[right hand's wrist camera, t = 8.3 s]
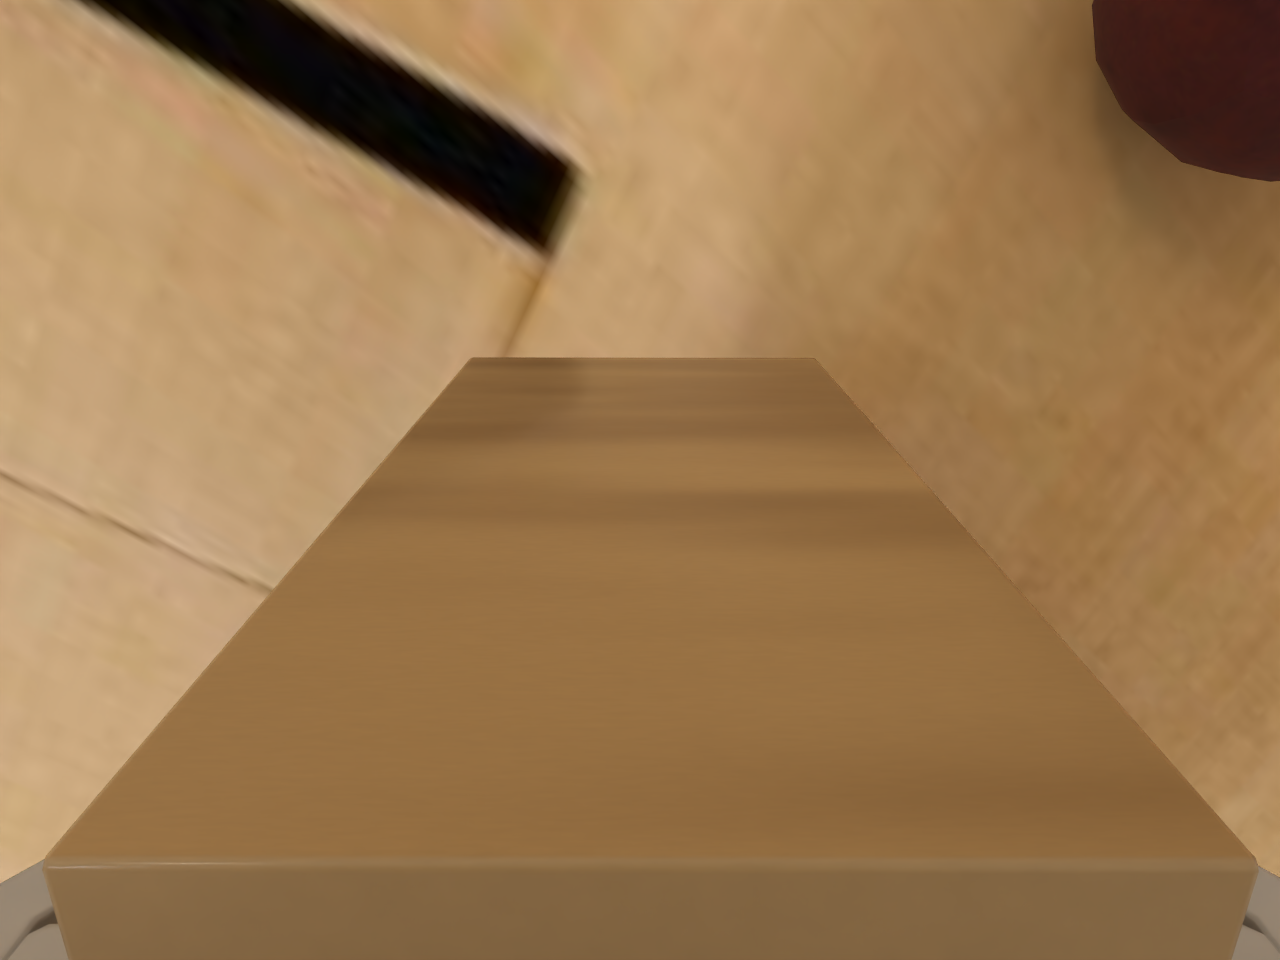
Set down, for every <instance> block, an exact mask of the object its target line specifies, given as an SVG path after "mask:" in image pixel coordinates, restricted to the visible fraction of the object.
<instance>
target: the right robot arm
mask: <svg viewBox="0 0 1280 960" xmlns="http://www.w3.org/2000/svg"><path fill="white" fill-rule="evenodd" d="M44 860H45V859H44ZM44 860H42V861H40V862H38V863H37V864H35V865H33V866H31V867H29V868H28V869H26V870H24V871H22V872H20V873H19V874H17V875H15V876H13V877H11V878H9V879H8V880H6V881H4V882H2V883H0V960H69V959H68V956H67V952H66V949H65V946H64V942H63V939H62V935H61V932H60V929H59V925H58V922H57V919H56V915H55V912H54V908H53V905H52V902H51V898H50V895H49V891H48V888H47V885H46V881H45V878H44V874H43V871H42V868H43V862H44ZM1258 870H1259V873H1258V876H1257V879H1256V882H1255V886H1254V889H1253V892H1252V895H1251V898H1250V902H1249V905H1248V908H1247V911H1246V915H1245V918H1244V921H1243V924H1242V927H1241V931H1240V934H1239V937H1238V940H1237V944H1236V947H1235V950H1234V953H1233V956H1232V960H1280V878H1279V877H1278V876H1276V875H1274V874H1272V873H1270V872H1269V871H1267V870H1265V869H1263V868H1261V867H1259V866H1258Z"/></svg>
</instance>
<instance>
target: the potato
mask: <svg viewBox="0 0 1280 960" xmlns="http://www.w3.org/2000/svg"><path fill="white" fill-rule="evenodd" d="M1092 11H1093V25H1094V38H1095V52H1096V61H1097V63H1098V65H1099V67H1100V68H1101V70H1102V72H1103V74H1104V76H1105V78H1106V80H1107V82H1108V84H1109V86H1110V88H1111V89H1112V91H1113V93H1114V95H1115V97H1116V99H1117V101H1118V103H1119V105H1120V107H1121V108H1122V110H1123V111H1124V112H1125V113H1126V114H1127V115H1128V116H1129V117H1130V118H1131V119H1132V120H1133V121H1134V122H1136V123H1137V124H1138V125H1139V126H1140V127H1141V128H1143V129H1144V130H1145V131H1146V132H1147V133H1148V134H1150V135H1151V136H1152V137H1153V138H1154V139H1155V140H1157V141H1158V142H1159V143H1160V144H1161V145H1162V146H1164V147H1165V148H1166V149H1167V150H1168V151H1169V152H1171V153H1172V154H1173V155H1174V156H1175V157H1177V158H1178V159H1179V160H1180V161H1181V162H1184V163H1187V164H1191V165H1195V166H1198V167H1202V168H1206V169H1209V170H1213V171H1217V172H1221V173H1226V174H1231V175H1235V176H1239V177H1244V178H1251V179H1257V180H1264V181H1280V0H1094V1H1093V4H1092Z"/></svg>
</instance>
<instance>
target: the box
mask: <svg viewBox="0 0 1280 960" xmlns="http://www.w3.org/2000/svg"><path fill="white" fill-rule="evenodd" d="M42 871H43V874H44V878H45V881H46V885H47V888H48V891H49V895H50V898H51V902H52V905H53V908H54V912H55V915H56V919H57V922H58V925H59V929H60V932H61V935H62V939H63V942H64V946H65V949H66V952H67V956H68V959H69V960H1232V956H1233V953H1234V950H1235V947H1236V944H1237V940H1238V937H1239V934H1240V931H1241V927H1242V924H1243V921H1244V918H1245V915H1246V911H1247V908H1248V905H1249V902H1250V898H1251V895H1252V892H1253V889H1254V886H1255V882H1256V879H1257V876H1258V873H1259V870H1258V864H1257V861H1256V859H1255V857H1254V856H1253V855H1252V854H1251V853H1250V851H1249V850H1248V849H1247V848H1246V847H1245V846H1244V845H1243V844H1242V842H1241V841H1240V840H1239V839H1238V838H1237V837H1236V836H1235V834H1234V833H1233V832H1232V831H1231V830H1230V829H1229V828H1228V827H1227V825H1226V824H1225V823H1224V822H1223V821H1222V820H1221V819H1220V817H1219V816H1218V815H1217V814H1216V813H1215V812H1214V811H1213V810H1212V808H1211V807H1210V806H1209V805H1208V804H1207V803H1206V802H1205V800H1204V799H1203V798H1202V797H1201V796H1200V795H1199V794H1198V793H1197V791H1196V790H1195V789H1194V788H1193V787H1192V786H1191V785H1190V783H1189V782H1188V781H1187V780H1186V779H1185V778H1184V777H1183V776H1182V774H1181V773H1180V772H1179V771H1178V770H1177V769H1176V768H1175V766H1174V765H1173V764H1172V763H1171V762H1170V761H1169V760H1168V758H1167V757H1166V756H1165V755H1164V754H1163V753H1162V752H1161V751H1160V749H1159V748H1158V747H1157V746H1156V745H1155V744H1154V743H1153V741H1152V740H1151V739H1150V738H1149V737H1148V736H1147V735H1146V734H1145V732H1144V731H1143V730H1142V729H1141V728H1140V727H1139V726H1138V724H1137V723H1136V722H1135V721H1134V720H1133V719H1132V718H1131V717H1130V715H1129V714H1128V713H1127V712H1126V711H1125V710H1124V709H1123V707H1122V706H1121V705H1120V704H1119V703H1118V702H1117V701H1116V700H1115V698H1114V697H1113V696H1112V695H1111V694H1110V693H1109V692H1108V690H1107V689H1106V688H1105V687H1104V686H1103V685H1102V684H1101V683H1100V681H1099V680H1098V679H1097V678H1096V677H1095V676H1094V675H1093V673H1092V672H1091V671H1090V670H1089V669H1088V668H1087V667H1086V666H1085V664H1084V663H1083V662H1082V661H1081V660H1080V659H1079V658H1078V656H1077V655H1076V654H1075V653H1074V652H1073V651H1072V650H1071V648H1070V647H1069V646H1068V645H1067V644H1066V643H1065V642H1064V641H1063V639H1062V638H1061V637H1060V636H1059V635H1058V634H1057V633H1056V631H1055V630H1054V629H1053V628H1052V627H1051V626H1050V625H1049V624H1048V622H1047V621H1046V620H1045V619H1044V618H1043V617H1042V616H1041V614H1040V613H1039V612H1038V611H1037V610H1036V609H1035V608H1034V607H1033V605H1032V604H1031V603H1030V602H1029V601H1028V600H1027V599H1026V597H1025V596H1024V595H1023V594H1022V593H1021V592H1020V591H1019V590H1018V588H1017V587H1016V586H1015V585H1014V584H1013V583H1012V582H1011V580H1010V579H1009V578H1008V577H1007V576H1006V575H1005V574H1004V573H1003V571H1002V570H1001V569H1000V568H999V567H998V566H997V565H996V563H995V562H994V561H993V560H992V559H991V558H990V557H989V556H988V554H987V553H986V552H985V551H984V550H983V549H982V548H981V546H980V545H979V544H978V543H977V542H976V541H975V540H974V538H973V537H972V536H971V535H970V534H969V533H968V532H967V531H966V529H965V528H964V527H963V526H962V525H961V524H960V523H959V521H958V520H957V519H956V518H955V517H954V516H953V515H952V514H951V512H950V511H949V510H948V509H947V508H946V507H945V506H944V504H943V503H942V502H941V501H940V500H939V499H938V498H937V497H936V495H935V494H934V493H933V492H932V491H931V490H930V489H929V487H928V486H927V485H926V484H925V483H924V482H923V481H922V480H921V478H920V477H919V476H918V475H917V474H916V473H915V472H914V470H913V469H912V468H911V467H910V466H909V465H908V464H907V463H906V461H905V460H904V459H903V458H902V457H901V456H900V455H899V453H898V452H897V451H896V450H895V449H894V448H893V447H892V445H891V444H890V443H889V442H888V441H887V440H886V439H885V438H884V436H883V435H882V434H881V433H880V432H879V431H878V430H877V428H876V427H875V426H874V425H873V424H872V423H871V422H870V421H869V419H868V418H867V417H866V416H865V415H864V414H863V413H862V411H861V410H860V409H859V408H858V407H857V406H856V405H855V404H854V402H853V401H852V400H851V399H850V398H849V397H848V396H847V394H846V393H845V392H844V391H843V390H842V389H841V388H840V387H839V385H838V384H837V383H836V382H835V381H834V380H833V379H832V377H831V376H830V375H829V374H828V373H827V372H826V371H825V370H824V368H823V367H822V366H821V365H820V364H819V363H818V362H817V360H816V359H814V358H471V359H470V360H469V361H468V362H467V363H466V364H465V366H464V367H463V368H462V369H461V370H460V371H459V373H458V374H457V375H456V376H455V377H454V378H453V380H452V381H451V382H450V383H449V384H448V385H447V387H446V388H445V389H444V390H443V391H442V392H441V394H440V395H439V396H438V397H437V398H436V400H435V401H434V402H433V403H432V404H431V405H430V407H429V408H428V409H427V410H426V411H425V412H424V414H423V415H422V416H421V417H420V418H419V419H418V421H417V422H416V423H415V424H414V425H413V426H412V428H411V429H410V430H409V431H408V432H407V434H406V435H405V436H404V437H403V438H402V439H401V441H400V442H399V443H398V444H397V445H396V446H395V448H394V449H393V450H392V451H391V452H390V453H389V455H388V456H387V457H386V458H385V459H384V460H383V462H382V463H381V464H380V465H379V466H378V467H377V469H376V470H375V471H374V472H373V473H372V475H371V476H370V477H369V478H368V479H367V480H366V482H365V483H364V484H363V485H362V486H361V487H360V489H359V490H358V491H357V492H356V493H355V494H354V496H353V497H352V498H351V499H350V500H349V501H348V503H347V504H346V505H345V506H344V507H343V509H342V510H341V511H340V512H339V513H338V514H337V516H336V517H335V518H334V519H333V520H332V521H331V523H330V524H329V525H328V526H327V527H326V528H325V530H324V531H323V532H322V533H321V534H320V535H319V537H318V538H317V539H316V540H315V541H314V542H313V544H312V545H311V546H310V547H309V548H308V550H307V551H306V552H305V553H304V554H303V555H302V557H301V558H300V559H299V560H298V561H297V562H296V564H295V565H294V566H293V567H292V568H291V569H290V571H289V572H288V573H287V574H286V575H285V576H284V578H283V579H282V580H281V581H280V582H279V584H278V585H277V586H276V587H275V588H274V589H273V591H272V592H271V593H270V594H269V595H268V596H267V598H266V599H265V600H264V601H263V602H262V603H261V605H260V606H259V607H258V608H257V609H256V610H255V612H254V613H253V614H252V615H251V616H250V618H249V619H248V620H247V621H246V622H245V623H244V625H243V626H242V627H241V628H240V629H239V630H238V632H237V633H236V634H235V635H234V636H233V637H232V639H231V640H230V641H229V642H228V643H227V644H226V646H225V647H224V648H223V649H222V650H221V651H220V653H219V654H218V655H217V656H216V657H215V659H214V660H213V661H212V662H211V663H210V664H209V666H208V667H207V668H206V669H205V670H204V671H203V673H202V674H201V675H200V676H199V677H198V678H197V680H196V681H195V682H194V683H193V684H192V685H191V687H190V688H189V689H188V690H187V691H186V693H185V694H184V695H183V696H182V697H181V698H180V700H179V701H178V702H177V703H176V704H175V705H174V707H173V708H172V709H171V710H170V711H169V712H168V714H167V715H166V716H165V717H164V718H163V719H162V721H161V722H160V723H159V724H158V725H157V727H156V728H155V729H154V730H153V731H152V732H151V734H150V735H149V736H148V737H147V738H146V739H145V741H144V742H143V743H142V744H141V745H140V746H139V748H138V749H137V750H136V751H135V752H134V753H133V755H132V756H131V757H130V758H129V759H128V760H127V762H126V763H125V764H124V765H123V766H122V768H121V769H120V770H119V771H118V772H117V773H116V775H115V776H114V777H113V778H112V779H111V780H110V782H109V783H108V784H107V785H106V786H105V787H104V789H103V790H102V791H101V792H100V793H99V794H98V796H97V797H96V798H95V799H94V800H93V802H92V803H91V804H90V805H89V806H88V807H87V809H86V810H85V811H84V812H83V813H82V814H81V816H80V817H79V818H78V819H77V820H76V821H75V823H74V824H73V825H72V826H71V827H70V828H69V830H68V831H67V832H66V833H65V834H64V835H63V837H62V838H61V839H60V840H59V841H58V843H57V844H56V845H55V846H54V847H53V848H52V850H51V851H50V852H49V853H48V854H47V855H46V857H45V860H44V862H43V868H42Z"/></svg>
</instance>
